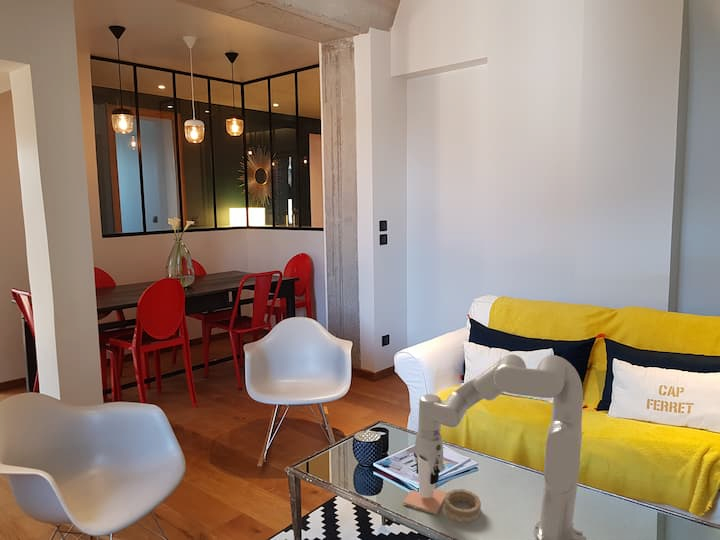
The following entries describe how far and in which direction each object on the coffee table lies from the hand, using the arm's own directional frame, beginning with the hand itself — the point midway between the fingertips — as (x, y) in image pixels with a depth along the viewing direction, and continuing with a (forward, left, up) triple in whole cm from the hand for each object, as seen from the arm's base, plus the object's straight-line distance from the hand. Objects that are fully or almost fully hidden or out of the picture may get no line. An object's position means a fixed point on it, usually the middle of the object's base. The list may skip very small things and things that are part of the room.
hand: (427, 477), depth 193 cm
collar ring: (-13, 0, -9) cm, 16 cm away
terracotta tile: (0, 0, -9) cm, 9 cm away
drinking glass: (0, 0, -7) cm, 7 cm away
